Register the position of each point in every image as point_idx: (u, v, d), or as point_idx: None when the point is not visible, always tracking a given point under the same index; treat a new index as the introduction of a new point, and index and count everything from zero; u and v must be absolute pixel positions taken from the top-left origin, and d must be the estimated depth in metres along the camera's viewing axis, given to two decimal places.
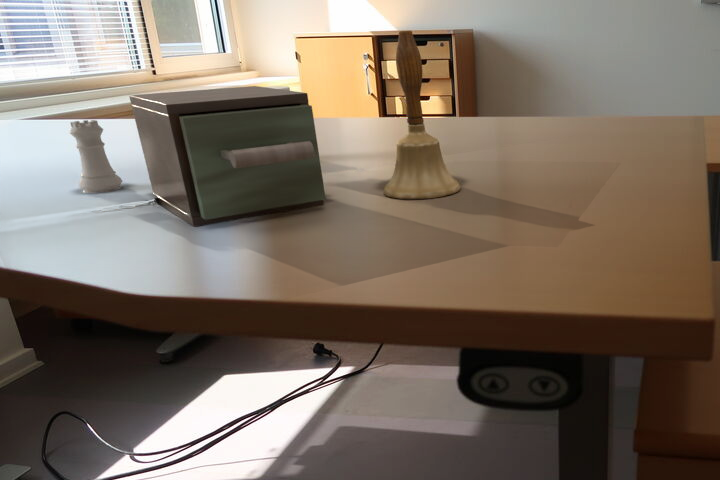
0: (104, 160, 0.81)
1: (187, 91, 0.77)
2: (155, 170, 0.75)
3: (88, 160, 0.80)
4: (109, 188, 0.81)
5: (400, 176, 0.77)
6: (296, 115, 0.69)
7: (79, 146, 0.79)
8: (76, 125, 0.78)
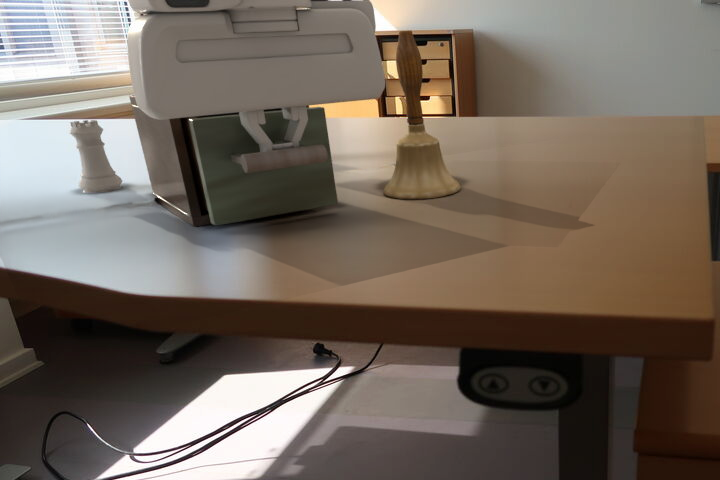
0: (104, 160, 0.81)
1: None
2: (155, 170, 0.75)
3: (88, 160, 0.80)
4: (109, 188, 0.81)
5: (400, 176, 0.77)
6: (308, 118, 0.67)
7: (79, 146, 0.79)
8: (76, 125, 0.78)
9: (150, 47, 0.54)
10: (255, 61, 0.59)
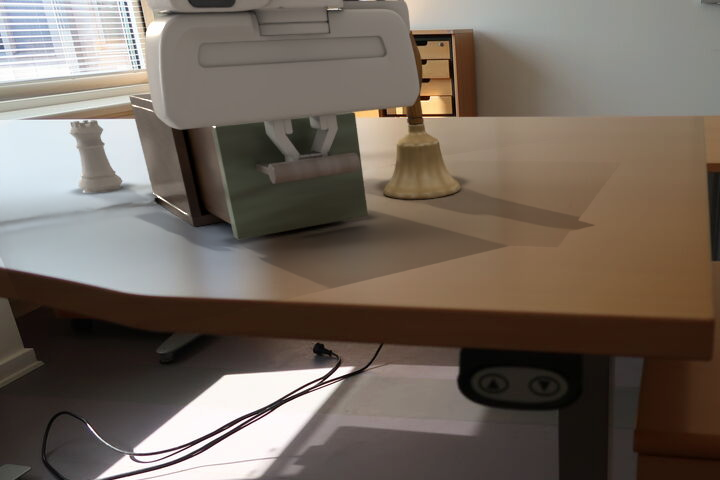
0: (104, 160, 0.81)
1: None
2: (155, 170, 0.75)
3: (88, 160, 0.80)
4: (109, 188, 0.81)
5: (400, 176, 0.77)
6: (338, 124, 0.62)
7: (79, 146, 0.79)
8: (76, 125, 0.78)
9: (170, 51, 0.49)
10: (283, 66, 0.54)
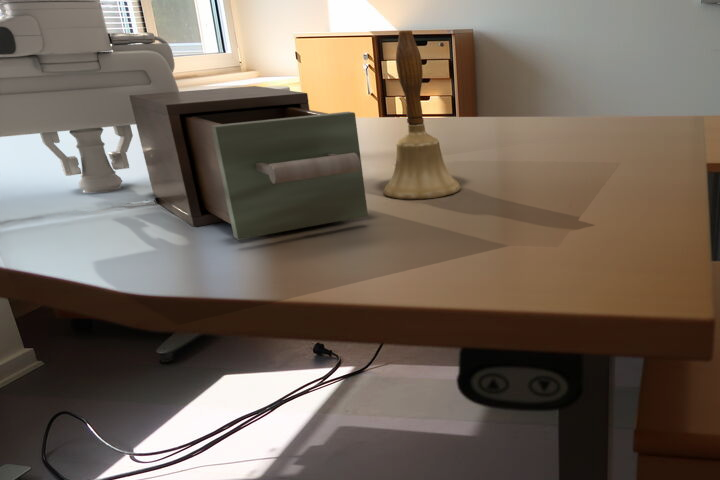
0: (104, 160, 0.81)
1: (187, 91, 0.77)
2: (155, 170, 0.75)
3: (88, 160, 0.80)
4: (109, 188, 0.81)
5: (400, 176, 0.77)
6: (338, 124, 0.62)
7: (79, 146, 0.79)
8: None
9: None
10: (63, 93, 0.76)
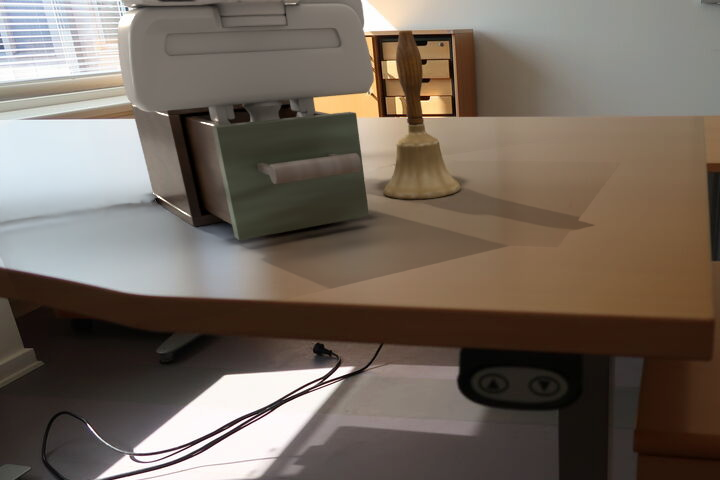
0: None
1: None
2: (155, 170, 0.75)
3: None
4: None
5: (400, 176, 0.77)
6: (339, 124, 0.62)
7: None
8: None
9: (139, 40, 0.55)
10: (244, 55, 0.60)
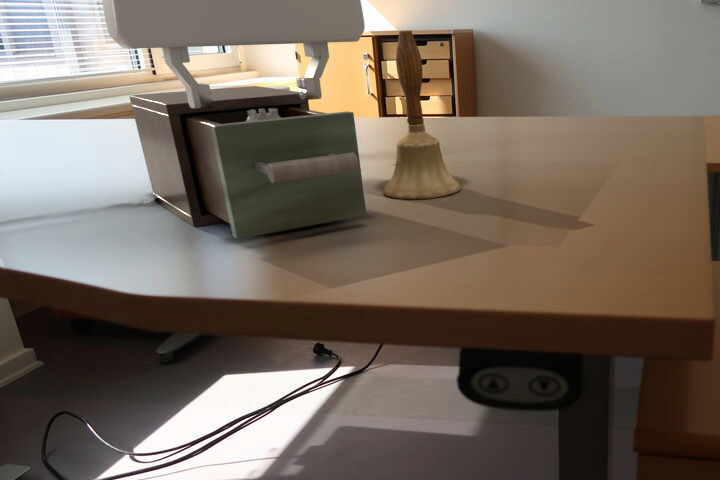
0: None
1: None
2: (155, 170, 0.75)
3: None
4: None
5: (400, 176, 0.77)
6: (337, 123, 0.62)
7: None
8: (255, 114, 0.63)
9: None
10: None
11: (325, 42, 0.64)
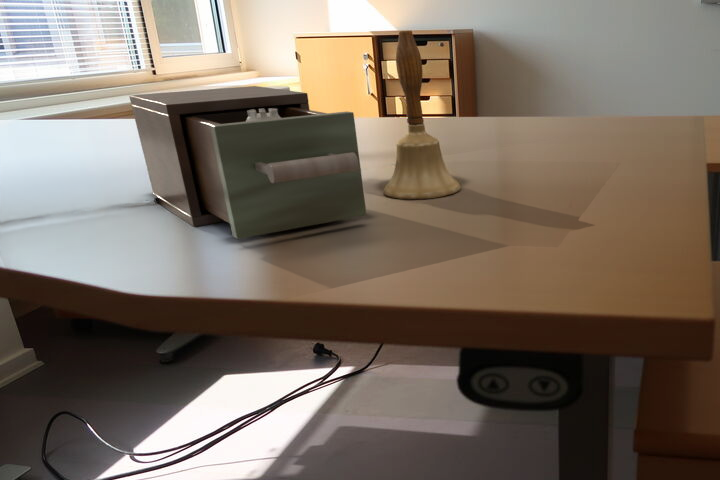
0: None
1: (187, 91, 0.77)
2: (155, 170, 0.75)
3: None
4: None
5: (400, 176, 0.77)
6: (337, 123, 0.62)
7: None
8: (255, 114, 0.63)
9: None
10: None
11: None
